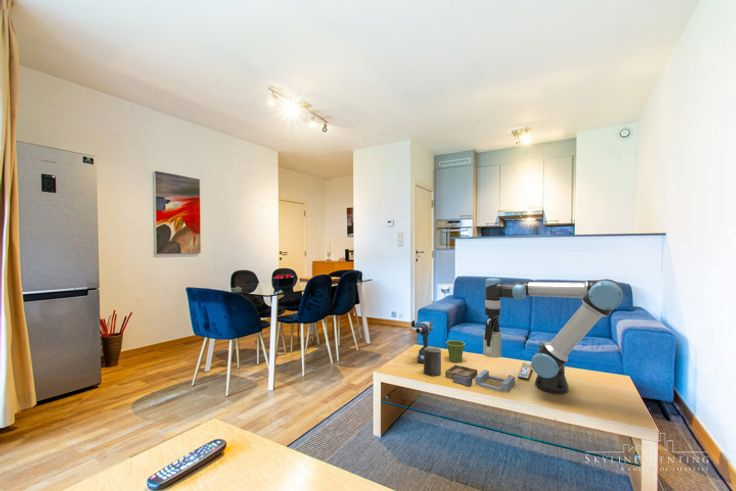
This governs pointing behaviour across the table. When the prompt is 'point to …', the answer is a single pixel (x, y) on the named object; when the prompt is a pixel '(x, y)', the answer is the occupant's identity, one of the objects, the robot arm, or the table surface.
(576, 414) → the table surface
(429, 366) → the pillar candle
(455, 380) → the grey t-shaped block
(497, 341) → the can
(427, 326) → the impact wrench
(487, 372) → the socket block
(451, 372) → the tray
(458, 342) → the plant pot
